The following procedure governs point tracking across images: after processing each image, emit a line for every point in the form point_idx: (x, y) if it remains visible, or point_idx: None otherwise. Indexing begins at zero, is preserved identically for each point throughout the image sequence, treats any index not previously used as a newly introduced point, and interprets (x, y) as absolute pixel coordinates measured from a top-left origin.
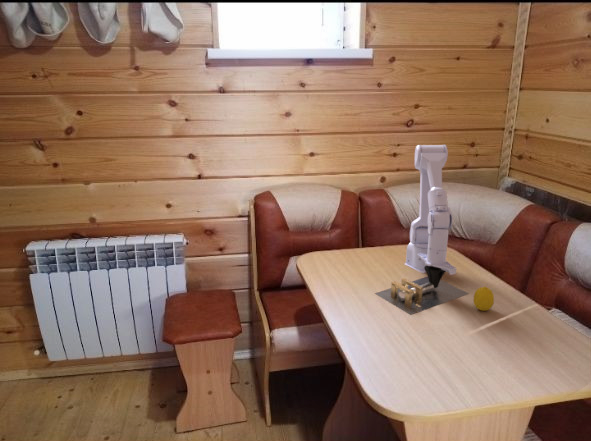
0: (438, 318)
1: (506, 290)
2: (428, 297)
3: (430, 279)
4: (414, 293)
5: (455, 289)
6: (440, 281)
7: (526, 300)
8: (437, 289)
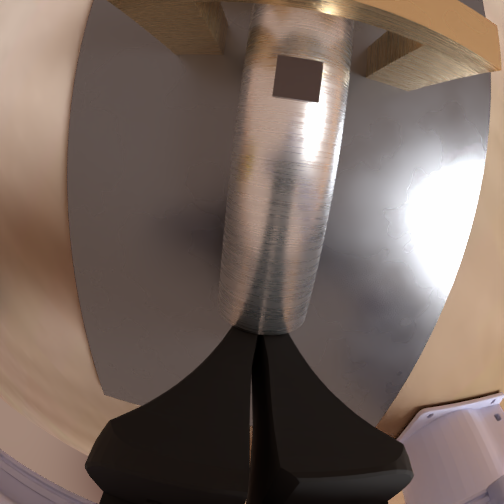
0: (20, 44)
1: None
2: (184, 163)
3: (270, 357)
4: (251, 17)
5: None
6: None
7: (38, 425)
8: None
